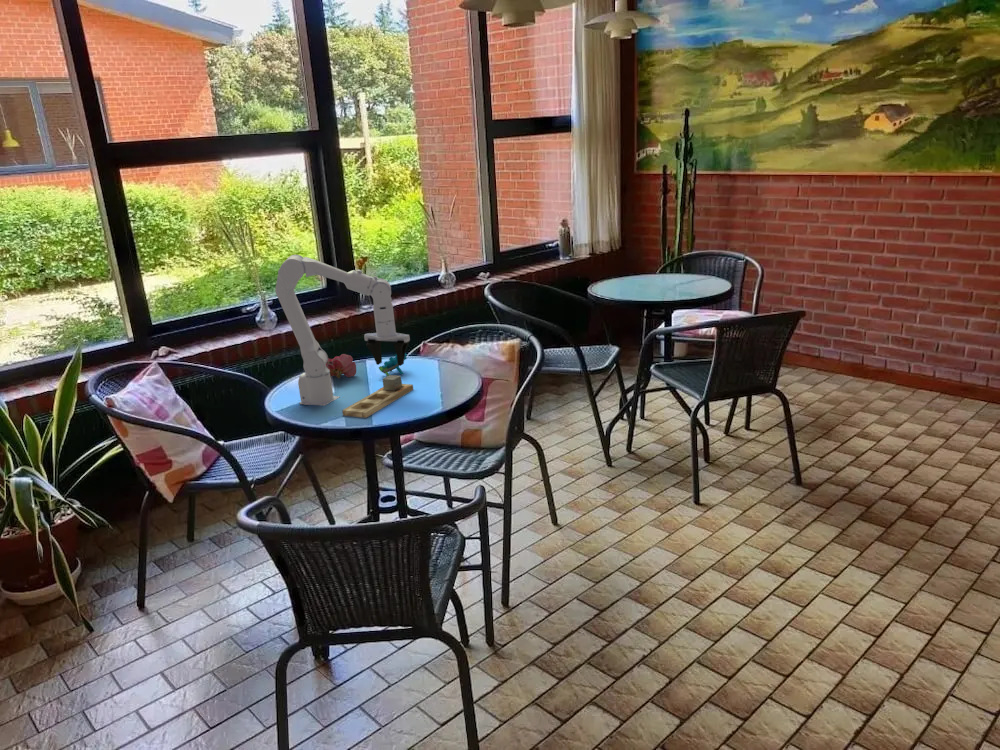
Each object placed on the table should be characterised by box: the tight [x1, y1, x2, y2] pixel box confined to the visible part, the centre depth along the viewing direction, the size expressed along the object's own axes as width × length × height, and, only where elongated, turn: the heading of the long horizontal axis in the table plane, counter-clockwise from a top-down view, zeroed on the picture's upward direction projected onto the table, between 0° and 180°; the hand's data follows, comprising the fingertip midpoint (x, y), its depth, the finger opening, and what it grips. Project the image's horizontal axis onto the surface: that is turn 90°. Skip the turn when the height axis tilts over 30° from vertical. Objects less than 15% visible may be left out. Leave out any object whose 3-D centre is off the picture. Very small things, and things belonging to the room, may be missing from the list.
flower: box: [326, 353, 357, 379], centre depth 245 cm, size 11×10×10 cm
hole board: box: [341, 383, 414, 418], centre depth 219 cm, size 8×25×2 cm, turn 155°
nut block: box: [382, 374, 403, 392], centre depth 224 cm, size 4×4×5 cm
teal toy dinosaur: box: [378, 352, 408, 377], centre depth 245 cm, size 11×6×10 cm
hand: (390, 364), depth 224 cm, fingers open, 7 cm apart
